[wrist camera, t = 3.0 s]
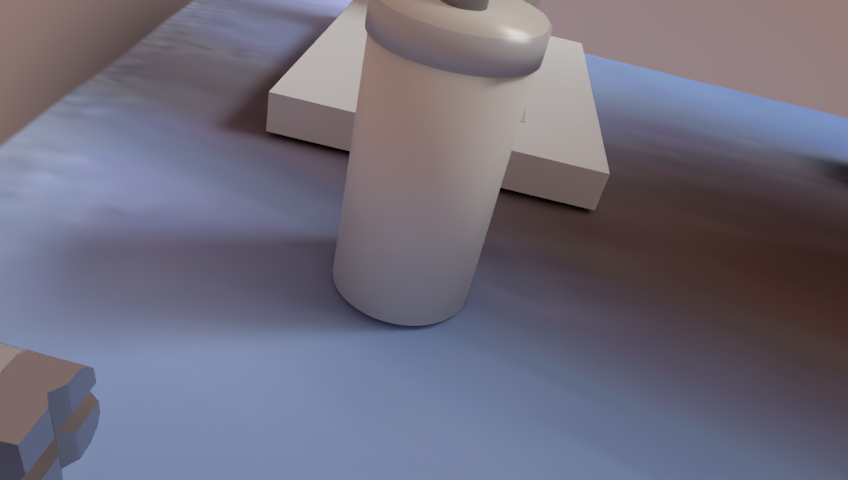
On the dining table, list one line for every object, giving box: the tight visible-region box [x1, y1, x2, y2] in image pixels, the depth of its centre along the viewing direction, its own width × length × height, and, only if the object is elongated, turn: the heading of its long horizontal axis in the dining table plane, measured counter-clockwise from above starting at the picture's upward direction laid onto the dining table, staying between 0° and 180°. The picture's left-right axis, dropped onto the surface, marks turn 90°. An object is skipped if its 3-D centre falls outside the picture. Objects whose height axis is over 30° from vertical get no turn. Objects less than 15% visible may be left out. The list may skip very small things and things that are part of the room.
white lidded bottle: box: [333, 0, 552, 326], centre depth 21 cm, size 5×5×12 cm
